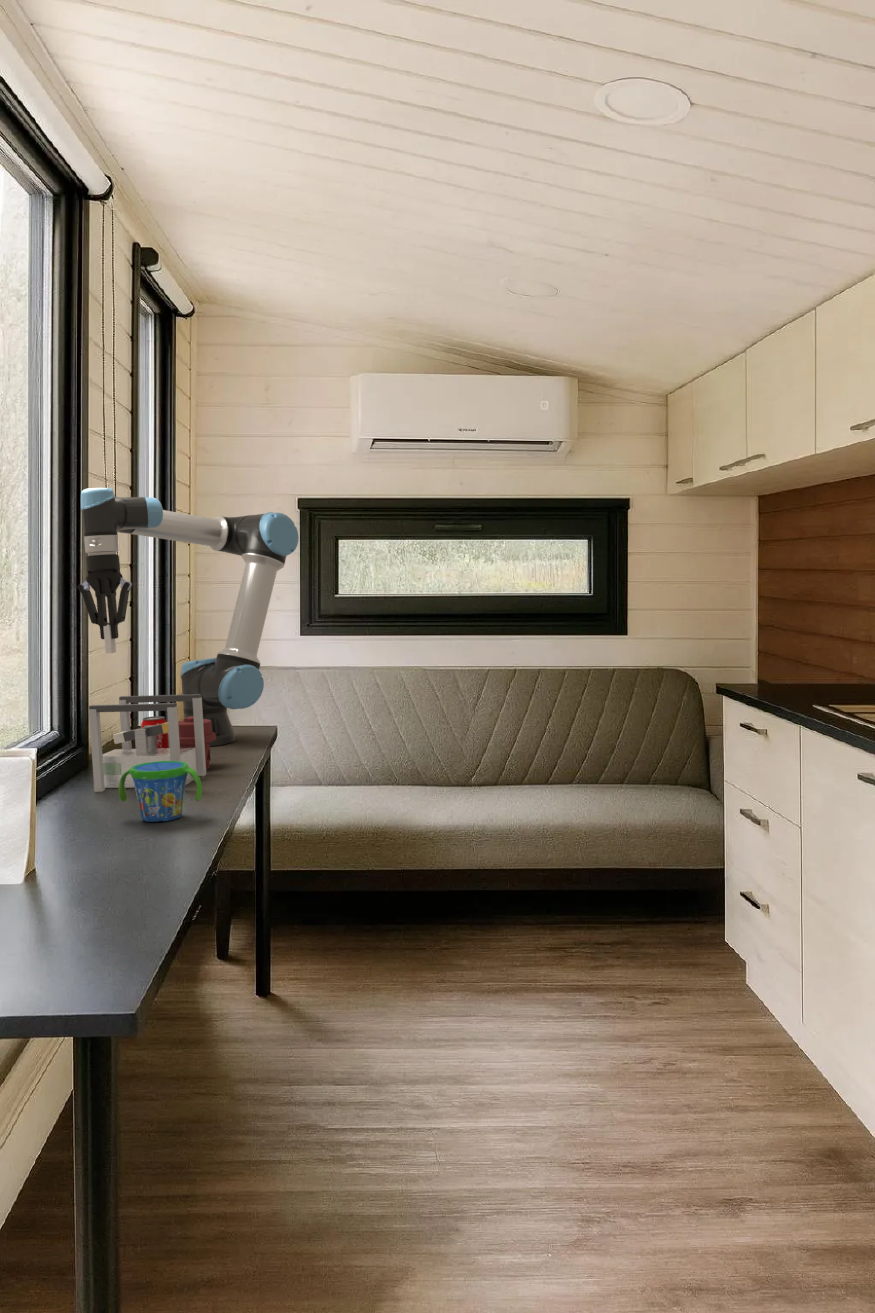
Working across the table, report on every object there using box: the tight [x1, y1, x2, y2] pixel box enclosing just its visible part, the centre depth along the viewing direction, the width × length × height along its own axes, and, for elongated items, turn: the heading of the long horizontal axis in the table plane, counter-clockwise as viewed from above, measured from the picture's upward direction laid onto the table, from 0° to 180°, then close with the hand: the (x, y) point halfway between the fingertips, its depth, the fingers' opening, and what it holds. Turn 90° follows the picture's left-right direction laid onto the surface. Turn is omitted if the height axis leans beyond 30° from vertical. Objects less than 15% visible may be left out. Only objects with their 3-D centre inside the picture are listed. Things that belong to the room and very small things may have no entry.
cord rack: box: [88, 694, 207, 793], centre depth 220 cm, size 17×19×19 cm
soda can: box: [140, 715, 170, 748], centre depth 239 cm, size 6×6×12 cm
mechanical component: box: [178, 716, 216, 770], centre depth 235 cm, size 12×10×10 cm
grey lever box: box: [102, 726, 197, 789], centre depth 220 cm, size 9×19×12 cm, turn 84°
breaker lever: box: [112, 721, 169, 745], centre depth 219 cm, size 3×14×2 cm, turn 83°
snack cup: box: [118, 761, 203, 823], centre depth 187 cm, size 16×10×10 cm
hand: (111, 652), depth 237 cm, fingers closed
